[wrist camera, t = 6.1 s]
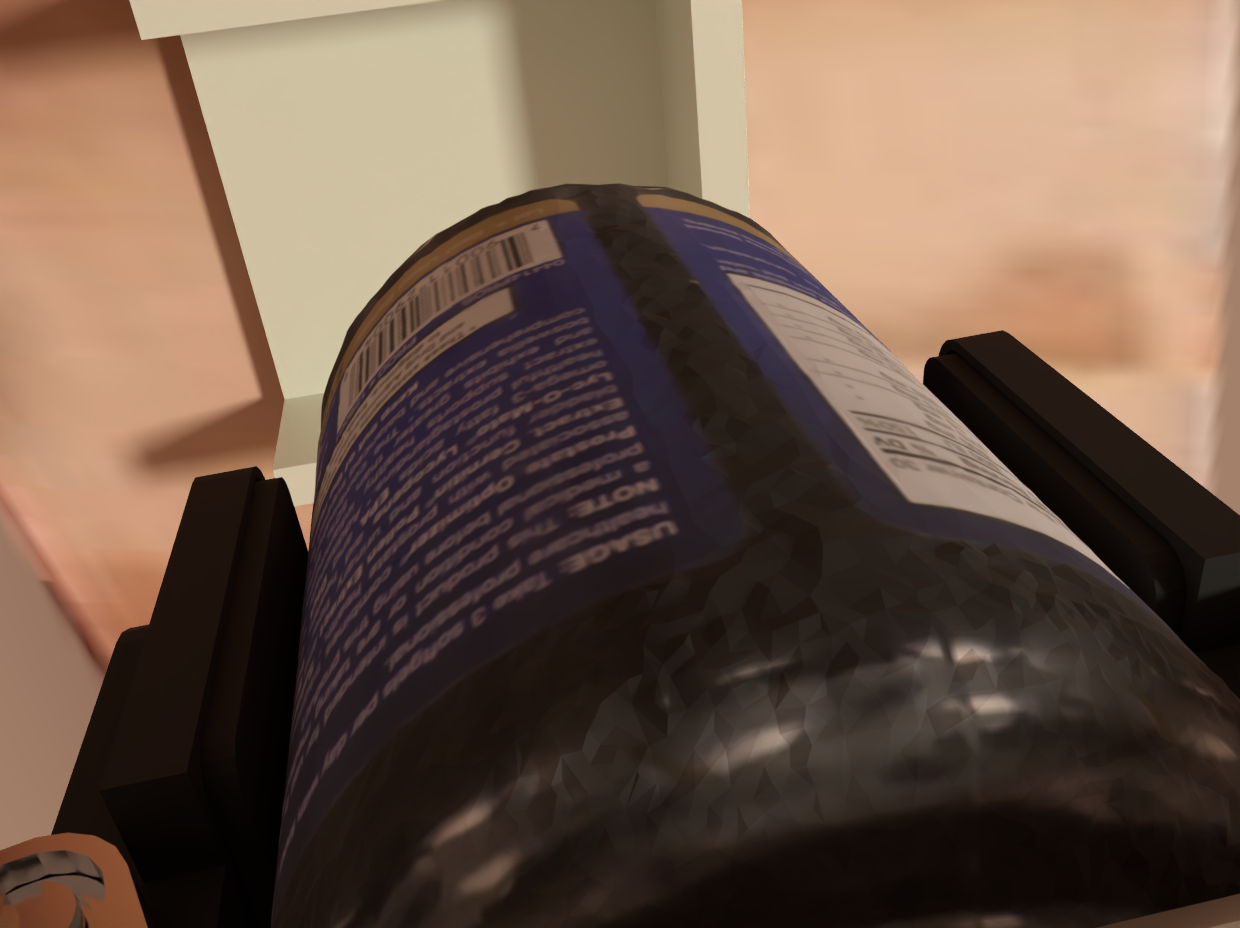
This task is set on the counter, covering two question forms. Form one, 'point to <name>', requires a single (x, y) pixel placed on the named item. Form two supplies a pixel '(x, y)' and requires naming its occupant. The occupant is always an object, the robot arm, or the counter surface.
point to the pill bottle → (708, 618)
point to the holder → (435, 137)
